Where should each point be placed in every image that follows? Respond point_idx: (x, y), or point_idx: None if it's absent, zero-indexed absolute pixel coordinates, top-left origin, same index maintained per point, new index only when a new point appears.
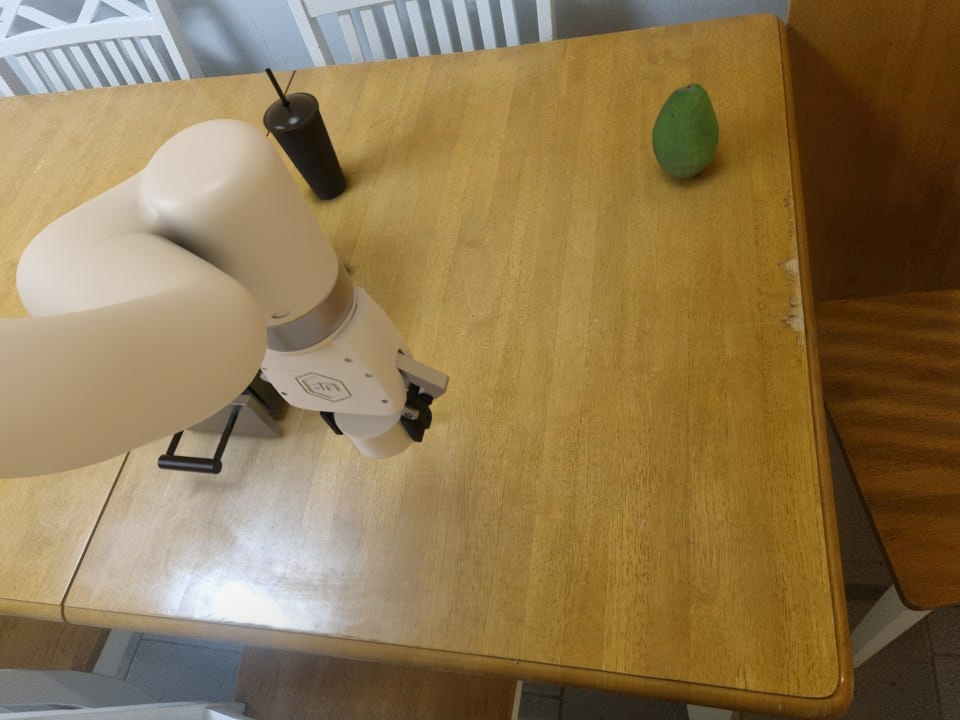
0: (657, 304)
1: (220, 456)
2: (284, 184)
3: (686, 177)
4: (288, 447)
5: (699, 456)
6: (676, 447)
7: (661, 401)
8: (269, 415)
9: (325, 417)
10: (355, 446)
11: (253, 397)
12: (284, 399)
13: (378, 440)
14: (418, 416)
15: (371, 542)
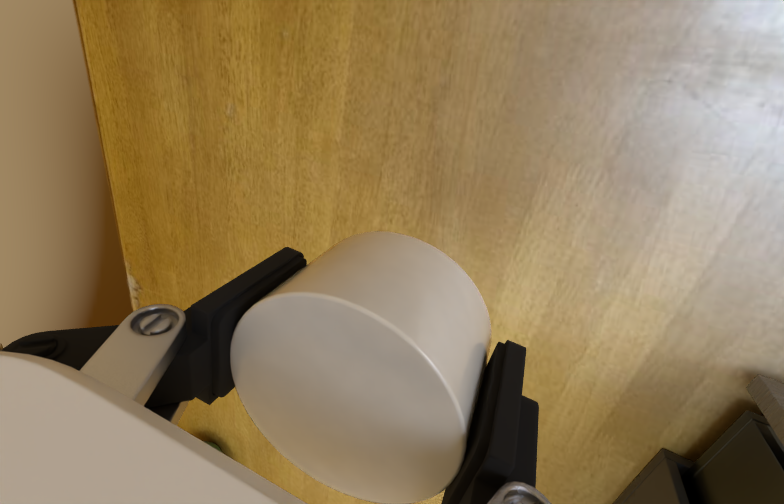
0: None
1: None
2: None
3: (206, 443)
4: (740, 349)
5: (185, 176)
6: (204, 192)
7: (220, 246)
8: (772, 427)
9: (499, 437)
10: (445, 289)
11: None
12: (726, 434)
13: (316, 277)
14: (190, 310)
15: (597, 139)
